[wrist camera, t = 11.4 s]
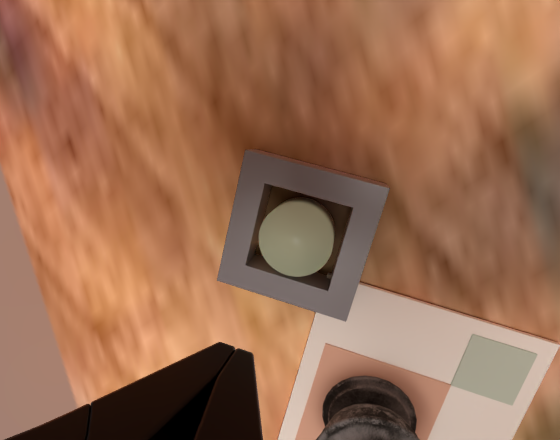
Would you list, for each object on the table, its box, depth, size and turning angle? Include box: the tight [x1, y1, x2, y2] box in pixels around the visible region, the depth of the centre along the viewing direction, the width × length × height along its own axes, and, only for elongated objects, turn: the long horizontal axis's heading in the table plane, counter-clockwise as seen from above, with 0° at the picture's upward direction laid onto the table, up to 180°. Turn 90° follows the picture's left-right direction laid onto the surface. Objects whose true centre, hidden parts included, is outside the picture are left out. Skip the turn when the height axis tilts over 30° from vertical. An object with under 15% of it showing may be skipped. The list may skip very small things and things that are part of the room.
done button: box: [259, 197, 335, 277], centre depth 18 cm, size 4×4×2 cm
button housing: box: [217, 149, 390, 322], centre depth 19 cm, size 7×7×2 cm
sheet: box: [278, 273, 560, 440], centre depth 20 cm, size 12×12×1 cm
